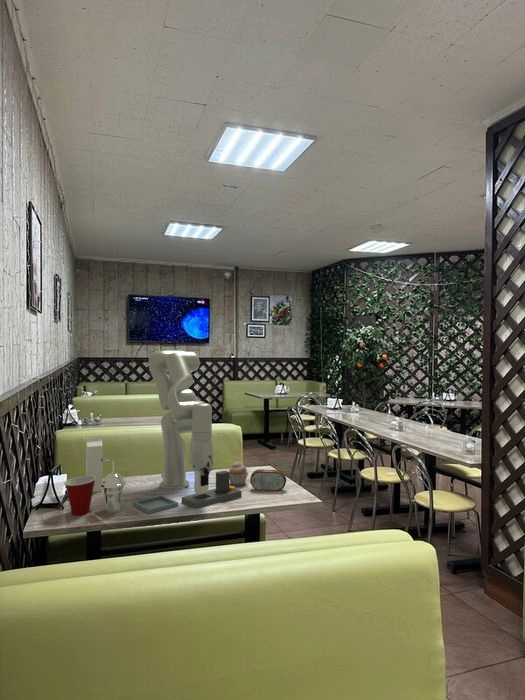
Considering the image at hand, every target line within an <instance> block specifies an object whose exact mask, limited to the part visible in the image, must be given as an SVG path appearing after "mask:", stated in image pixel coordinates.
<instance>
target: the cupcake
mask: <svg viewBox="0 0 525 700" xmlns="http://www.w3.org/2000/svg"><path fill="white" fill-rule="evenodd" d="M228 472H229V485H230V486H234V487H241V486H244V485H245V484H246V482H247V481H246V480H247V478H248V476H249V474H250V473H249V472H248V470H247V468H246V466H245V465H244V464H243V463H241V462H240V461H239V460H237V461H235V462H234V463H233V464H232V465H231V466H230V468H229V470H228Z"/></svg>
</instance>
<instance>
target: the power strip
mask: <svg viewBox="0 0 525 700" xmlns="http://www.w3.org/2000/svg"><path fill="white" fill-rule="evenodd" d="M236 487H237V486H233V485H229V492H227V493H223V494H218V493H216V488H213V489H209V492H206V493H201V494H197V493H194V494H193V493H192V494H190V495H185V496H181V504H184V505H186V506H188V507H190V508H192V509H194V510H196V509H200V508H203V507H208V506H211V505H214V504H217V503H220V504H222V503H225V501H226V502H229V501H232V499H233V500H236V499H240V498H242V490H241V489H237V488H236ZM235 498H236V499H235ZM228 500H229V501H228Z"/></svg>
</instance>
